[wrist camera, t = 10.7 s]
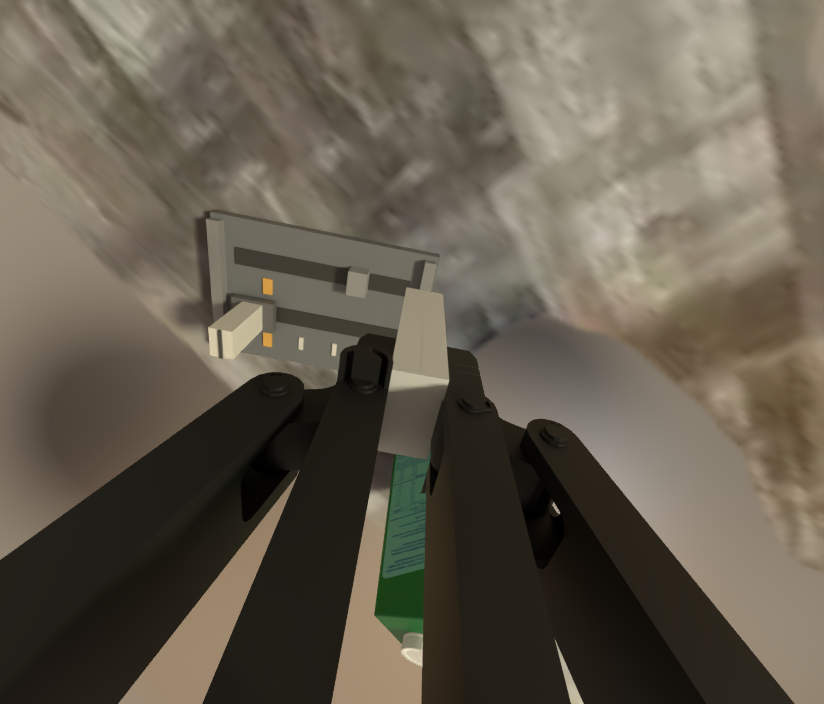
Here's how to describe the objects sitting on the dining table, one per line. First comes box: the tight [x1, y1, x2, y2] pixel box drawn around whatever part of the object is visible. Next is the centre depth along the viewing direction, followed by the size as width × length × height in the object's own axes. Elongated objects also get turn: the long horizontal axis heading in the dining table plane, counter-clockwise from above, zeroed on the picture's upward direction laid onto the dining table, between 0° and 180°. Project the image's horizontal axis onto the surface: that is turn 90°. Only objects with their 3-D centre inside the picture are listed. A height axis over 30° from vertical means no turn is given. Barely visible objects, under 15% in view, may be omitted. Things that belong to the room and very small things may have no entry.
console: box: [206, 210, 439, 370], centre depth 42 cm, size 16×24×4 cm, turn 79°
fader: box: [208, 294, 277, 359], centre depth 39 cm, size 4×5×8 cm
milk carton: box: [374, 448, 431, 666], centre depth 43 cm, size 9×9×25 cm
